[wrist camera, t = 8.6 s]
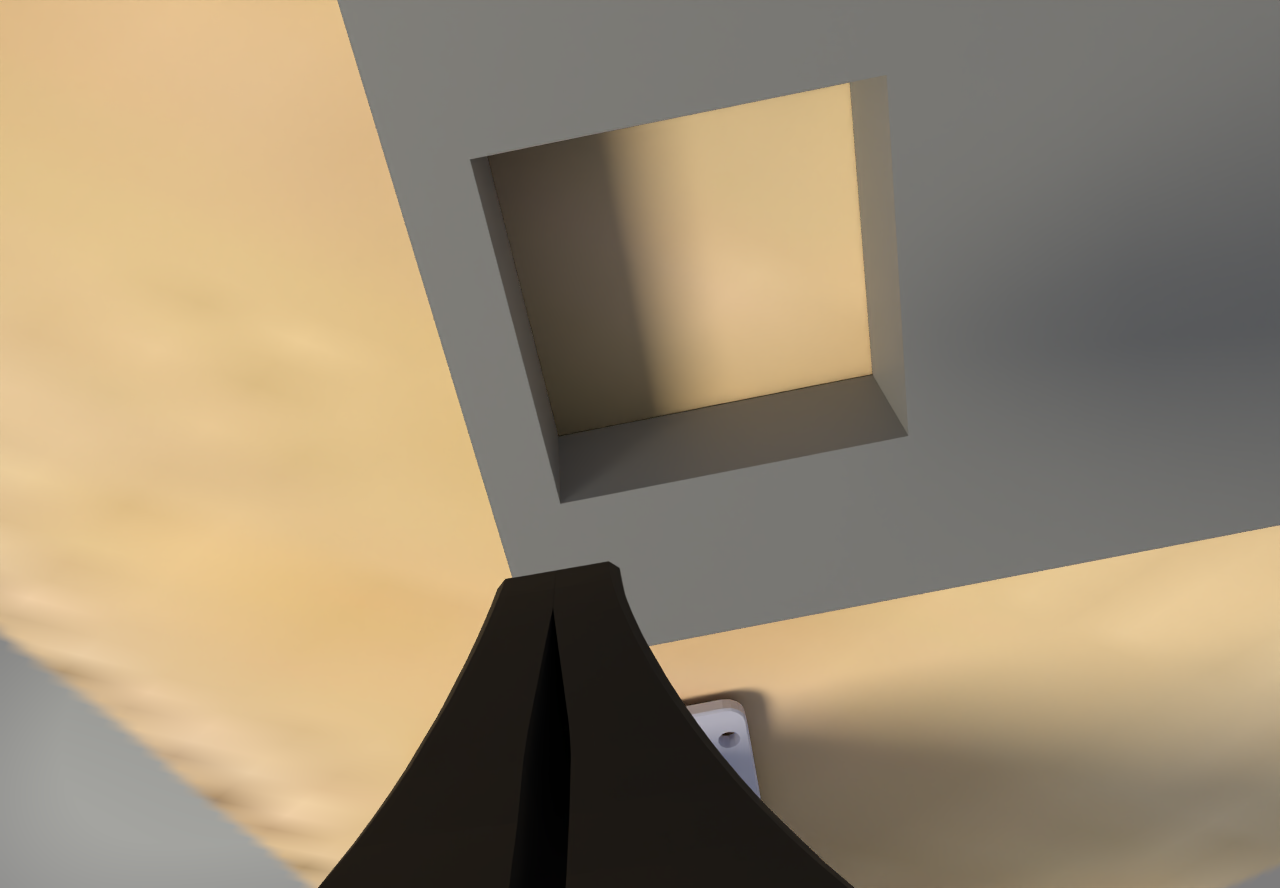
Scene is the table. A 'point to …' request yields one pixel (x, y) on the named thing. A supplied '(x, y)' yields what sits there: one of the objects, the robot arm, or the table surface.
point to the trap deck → (882, 288)
